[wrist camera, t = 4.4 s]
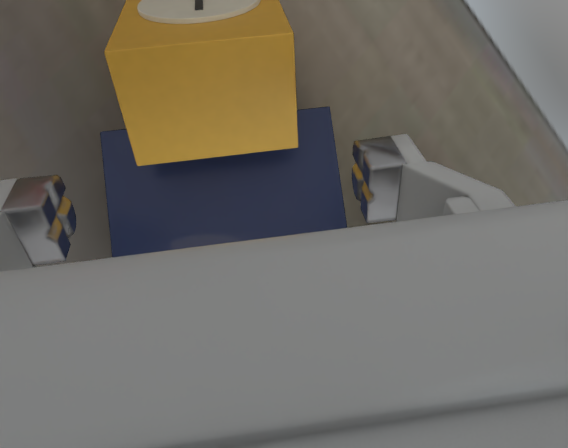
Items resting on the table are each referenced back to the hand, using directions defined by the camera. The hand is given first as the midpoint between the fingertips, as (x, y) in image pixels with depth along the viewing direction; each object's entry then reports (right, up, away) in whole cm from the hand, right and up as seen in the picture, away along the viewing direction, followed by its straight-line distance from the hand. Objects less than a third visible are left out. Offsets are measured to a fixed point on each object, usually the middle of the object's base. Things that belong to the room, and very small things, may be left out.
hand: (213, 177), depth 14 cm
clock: (-1, +6, +8) cm, 10 cm away
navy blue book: (-1, -1, +12) cm, 12 cm away
